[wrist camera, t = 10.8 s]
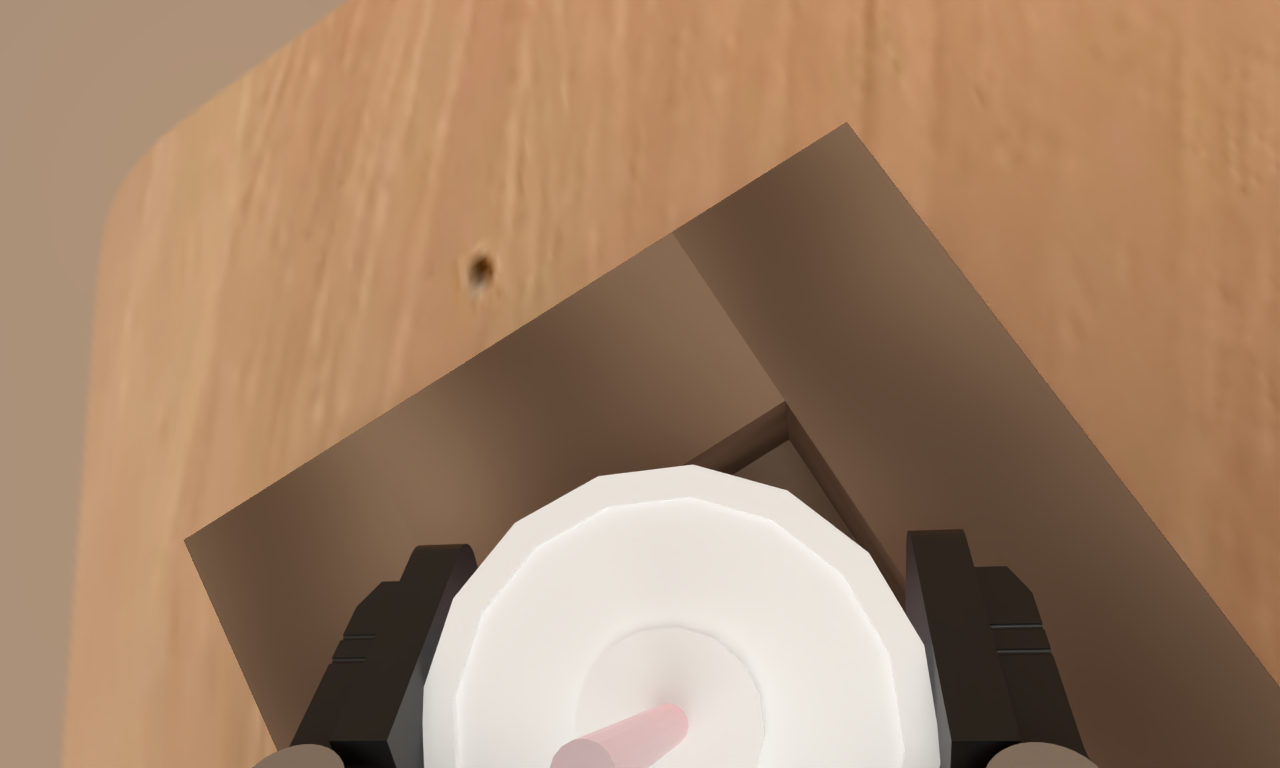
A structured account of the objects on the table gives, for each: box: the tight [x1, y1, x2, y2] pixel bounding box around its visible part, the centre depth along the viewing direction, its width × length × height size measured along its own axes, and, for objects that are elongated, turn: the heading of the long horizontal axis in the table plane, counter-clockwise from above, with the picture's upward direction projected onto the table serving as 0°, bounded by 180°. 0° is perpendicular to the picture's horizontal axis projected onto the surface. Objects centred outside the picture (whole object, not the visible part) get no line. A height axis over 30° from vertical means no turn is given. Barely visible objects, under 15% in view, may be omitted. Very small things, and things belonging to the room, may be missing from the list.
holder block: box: [184, 122, 1280, 768], centre depth 21 cm, size 16×16×5 cm
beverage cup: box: [422, 465, 940, 768], centre depth 14 cm, size 6×6×14 cm
